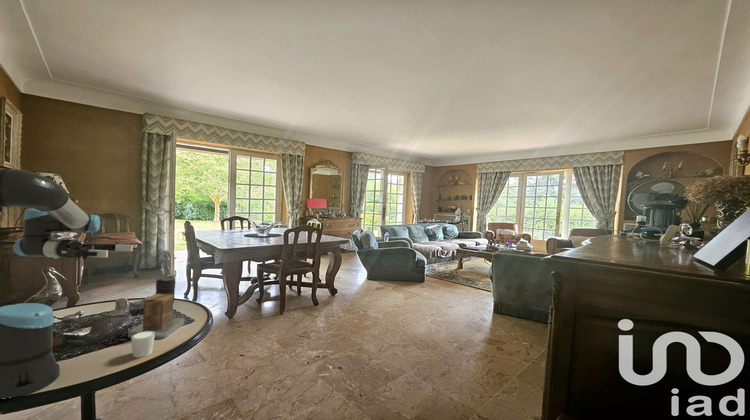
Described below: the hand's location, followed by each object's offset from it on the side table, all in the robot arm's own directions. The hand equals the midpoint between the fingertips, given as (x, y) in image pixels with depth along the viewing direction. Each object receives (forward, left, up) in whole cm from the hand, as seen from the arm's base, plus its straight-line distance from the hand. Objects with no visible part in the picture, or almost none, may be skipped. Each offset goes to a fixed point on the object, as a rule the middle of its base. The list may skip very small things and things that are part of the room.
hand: (120, 251), depth 122 cm
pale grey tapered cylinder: (+21, -17, -34) cm, 43 cm away
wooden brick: (+15, +2, -31) cm, 35 cm away
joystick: (+15, +2, -34) cm, 37 cm away
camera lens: (+3, +28, -34) cm, 44 cm away
